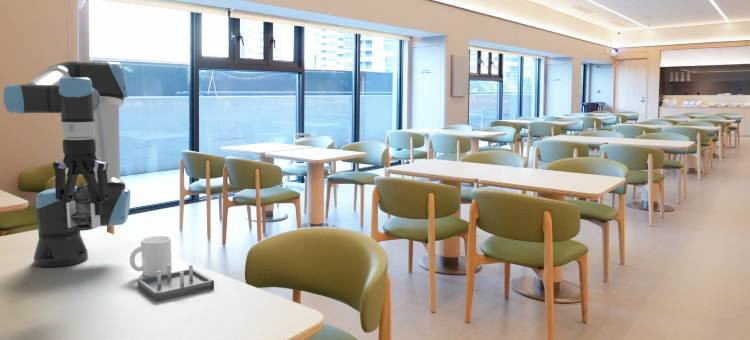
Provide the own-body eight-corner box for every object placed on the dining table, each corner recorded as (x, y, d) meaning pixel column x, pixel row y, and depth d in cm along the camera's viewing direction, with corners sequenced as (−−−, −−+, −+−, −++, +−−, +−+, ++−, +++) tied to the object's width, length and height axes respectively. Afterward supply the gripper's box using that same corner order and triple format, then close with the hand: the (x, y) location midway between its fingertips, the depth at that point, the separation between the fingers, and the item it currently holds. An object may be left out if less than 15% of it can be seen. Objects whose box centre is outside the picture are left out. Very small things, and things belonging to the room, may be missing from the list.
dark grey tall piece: (101, 226, 155) (99, 181, 154) (83, 231, 150) (80, 185, 148) (84, 224, 157) (82, 180, 156) (66, 229, 152) (63, 183, 150)
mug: (135, 282, 168) (134, 247, 166) (125, 275, 174) (123, 241, 172) (176, 273, 176) (175, 239, 174) (165, 266, 182) (163, 234, 180)
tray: (137, 287, 164) (136, 267, 163) (192, 275, 174) (192, 257, 173) (156, 301, 153) (155, 280, 152) (214, 288, 163) (213, 268, 163)
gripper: (34, 138, 148) (40, 228, 151) (106, 140, 146) (110, 231, 149) (53, 136, 155) (59, 222, 158) (121, 137, 153) (126, 224, 156)
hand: (84, 226), depth 154 cm, fingers closed on dark grey tall piece, 6 cm apart
